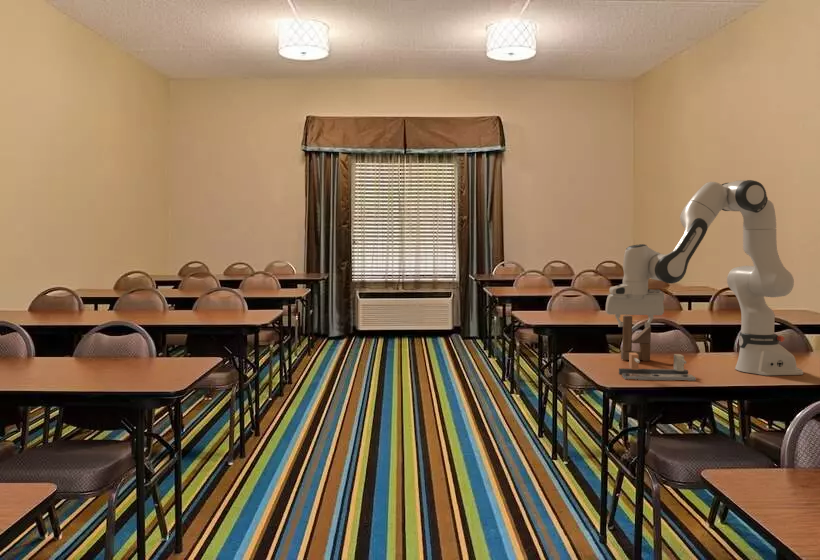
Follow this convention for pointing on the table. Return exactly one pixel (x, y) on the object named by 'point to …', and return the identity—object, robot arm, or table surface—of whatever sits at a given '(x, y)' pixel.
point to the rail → (677, 369)
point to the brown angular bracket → (635, 341)
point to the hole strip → (659, 376)
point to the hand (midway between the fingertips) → (633, 327)
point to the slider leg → (633, 361)
